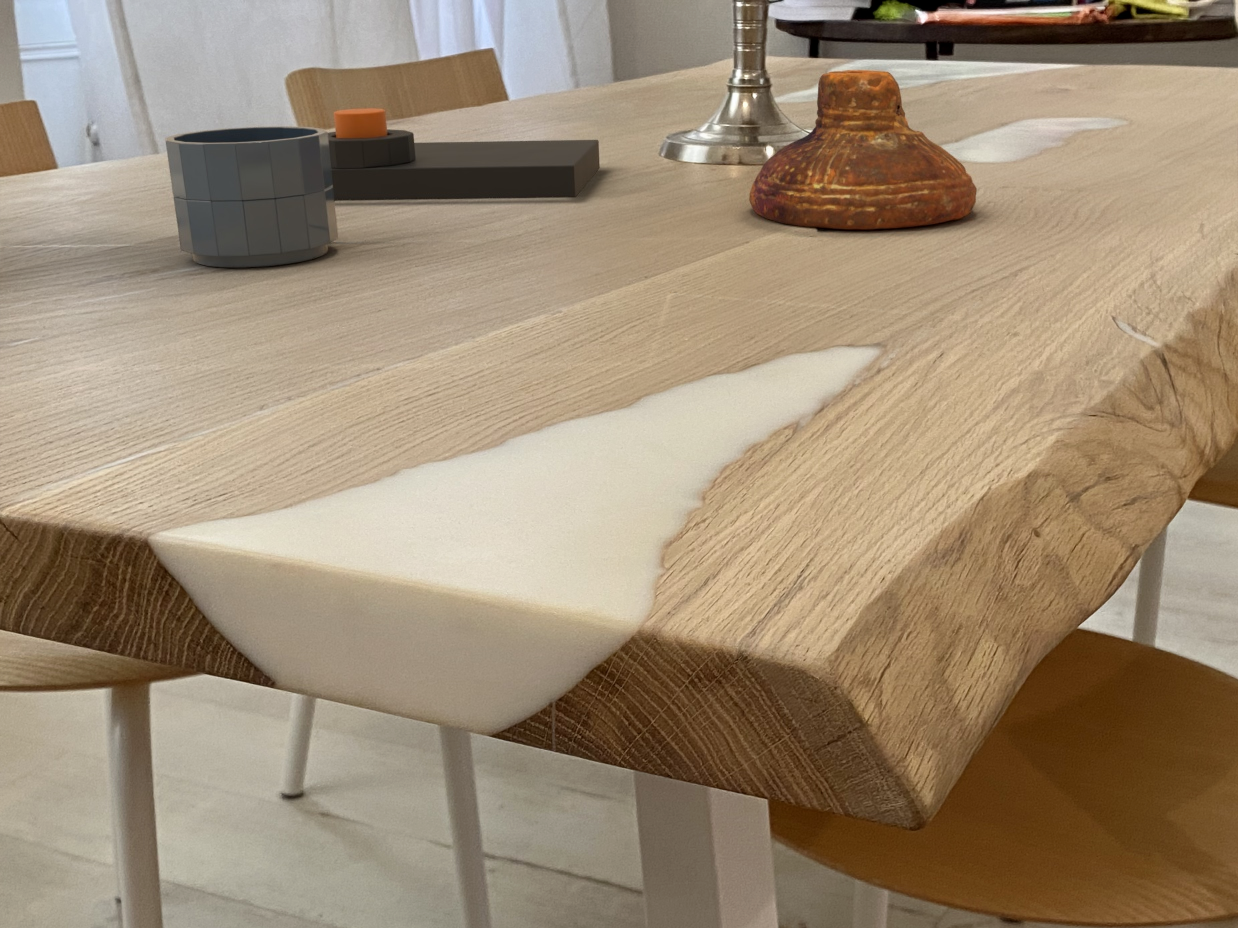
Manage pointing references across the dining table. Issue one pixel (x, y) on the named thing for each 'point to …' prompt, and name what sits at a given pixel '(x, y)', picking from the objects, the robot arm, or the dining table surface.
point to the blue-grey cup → (253, 195)
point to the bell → (862, 165)
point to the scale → (458, 168)
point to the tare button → (360, 123)
